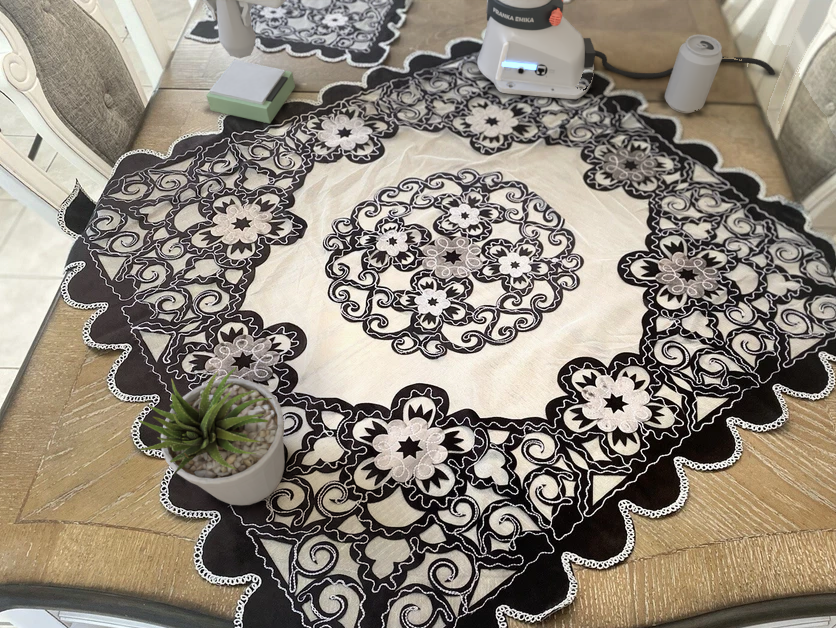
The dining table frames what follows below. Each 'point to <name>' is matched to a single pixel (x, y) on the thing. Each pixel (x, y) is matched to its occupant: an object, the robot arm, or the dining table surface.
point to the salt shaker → (234, 29)
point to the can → (693, 73)
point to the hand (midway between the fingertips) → (232, 21)
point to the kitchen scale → (251, 91)
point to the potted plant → (225, 439)
